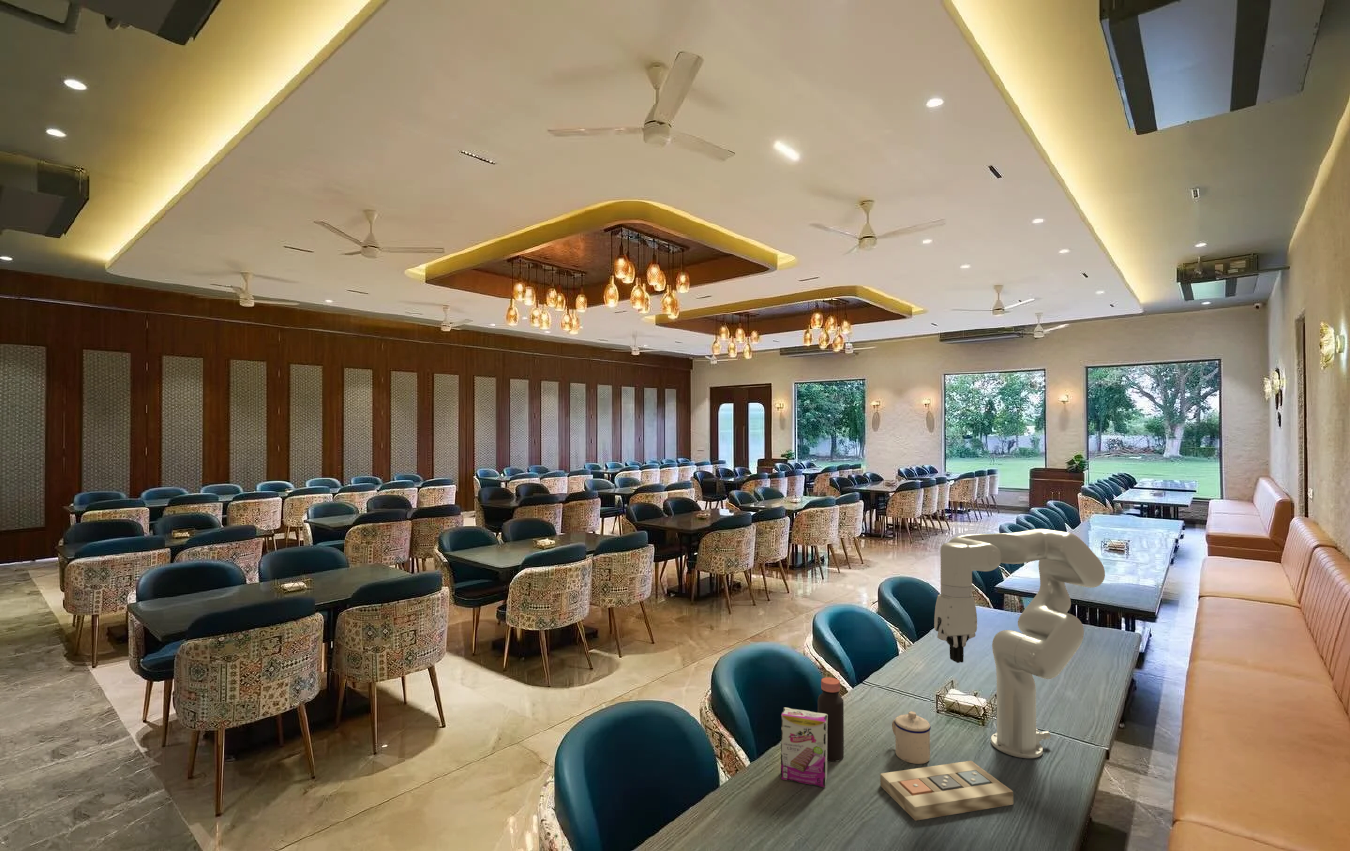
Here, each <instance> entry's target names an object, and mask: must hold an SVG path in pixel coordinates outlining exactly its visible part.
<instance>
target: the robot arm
mask: <svg viewBox="0 0 1350 851" xmlns="http://www.w3.org/2000/svg"><path fill="white" fill-rule="evenodd" d="M939 554H940V556H939V557H940V594H937V597H936V602H935V607H934V608H935V609H934V616H933V617H934V618H933V620H934V622H933V623H934V624H933V626H934V631H936V632H937V639H938V640H940V641H944V642H946V643H947V644H948V645H949V658H950V660H951V661H953V662H955V663H957V664H960V663H964V653H965V652H964V648H965V647H966V645H967V642H968V641H969V640H971V639H973V638H975V637H976V633H977V631H978V630H977V629H978V614H977V608H976V606H977V605H976V602H975V597H974V595H973V591H975V589H976V587H975V585H974V584H973V571H978V572H991V571H994V570H996V569H997V568H998V567H1000V565H1001V564H1008V565H1010V564H1011V565H1016V564H1017V565H1020V564H1025V563H1029V562H1035V561H1038V574H1039V590H1038V591H1037V593H1036V595H1035V596H1034V597H1033V598H1032V600H1031V601H1030V602H1029V604H1028V605H1027V606H1026V607H1025V608H1024V610H1023V611H1022V613H1021V614H1020V615H1019V617H1018V620H1017V627H1018V630H1019V631H1020V632H1019V631H1017V630H1011V629H1004V630H999V631H998V632H997V633H996V634H995V635H994V637H993V639H992V643H991V644H992V645H991V647H992V649H991V650H992V655H993V660H994V665H995V671H996V673H995V674H996V732H995V733H993V734H992V735H991V736H990V743H991V745H992V747H994V748H995V749H997V750H998V751H1000V752H1002V753H1004V754H1005V755H1009V756H1013V757H1016V758H1021V759H1022V758H1023V759H1036V758H1039V757H1041V756H1042V755H1043V753H1044V748H1043V745H1042V744H1040V742H1041V741H1043V740H1050V739H1051V734H1050V732H1049V731H1048V730H1047V731H1040V732H1039V729H1038V728H1037V687H1036V683H1035V678H1034V676H1035V677H1038V678H1040V679H1044V680H1052V679H1055V678H1057V676H1059V675H1060V674H1061V673H1062V671H1063V670H1065V668H1066V666H1067V665H1068V663H1069V662H1070V661H1071V660H1072V658H1073V656H1075V654H1076V652H1078V649H1079V648H1080V647H1081V645H1082V643H1083V639H1084V636H1085V628H1084V624H1083V622H1081V620H1080V619H1079V618H1078V617H1077V616H1075V615H1073V614H1071V613H1068V611H1070V609H1071V605H1072V602H1071V597H1070V595H1069V592H1068V590H1067V587H1066V584H1069V585H1073V586H1074V585H1075V586H1080V587H1083V588H1088V589H1089V588H1092V589H1093V588H1098V587H1099V586H1101V585H1102V584H1103V582H1104V580H1105V577H1106V571H1105V567H1104V564H1103V563H1102V560H1100V558H1099V557H1098V556H1097V555H1096V554H1095V553H1094V551H1093V550H1092V549H1091V548H1090V547H1089V546H1088V545H1087V544H1086V543H1085V541H1083V540H1082V538H1080V537H1078V536H1077V535H1075V534H1073V533H1072V532H1067V531H1062V530H1054V529H1053V530H1052V529H1046V528H1034V529H1027V530H1023V531H1015V532H1003V533H1002V532H1000V533H980V534H979V533H975V534H965V535H959V536H955V537H953V538H951V539H950V540H949V541H948V542H945V543H943V544H941V546H940V552H939ZM1065 583H1066V584H1065Z"/></svg>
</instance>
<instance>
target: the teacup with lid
mask: <svg viewBox="0 0 1350 851" xmlns="http://www.w3.org/2000/svg"><path fill="white" fill-rule="evenodd" d="M891 728H892V732H893V735H894V736H895V738H894V739H895V741H894V742H895V754H896V756H897V758H899V759H900V760H902V761H904V762H906V763H909V764H914V765H923V764H926V763H928V762H929V761H930V757H931V747H930V746H931V741H930V740H931V738H930V737H931V736H930V735H931V734H930V733H931V730H932V729H931V724H930V723H929V721H928V720H927V719H925V717H924V718H923V717H921V716H919V715H917V713H916V711H909V712H908V713H906V714H900V715H898V716H896V717H895V718H894V719H893V720H892V721H891Z"/></svg>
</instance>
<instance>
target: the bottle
mask: <svg viewBox="0 0 1350 851" xmlns="http://www.w3.org/2000/svg"><path fill="white" fill-rule="evenodd" d="M820 680H821V681H820V686H821V687H820V688H821V689H820V690H821V694H819V695H818V698H817V713H824V714H827V715H828V726H827V762H838V761H841V760H843V758H844V756H845V752H844V751H845V743H844V742H845V741H844V739H845V738H844V734H845V733H844V732H845V730H844V729H845V726H844V724H845V722H844V720H845V718H844V714H845V713H844V712H845V711H844V706H845V705H844V699H843V698H842V696H841V695H840V692H841V681H840V680H839V679H838V678H835V677H832V676H831V677H829V676H828V677H827V676H826V677H823V678H821V679H820Z"/></svg>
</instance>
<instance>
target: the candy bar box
mask: <svg viewBox="0 0 1350 851" xmlns="http://www.w3.org/2000/svg"><path fill="white" fill-rule="evenodd" d="M780 716H781V717H780V719H781V720H780V721H781V722H780V723H781V724H780V727H781V729H780V739H781V740H780V779H781V780H782V781H783V780H784V781H789V782H794V783H799V784H805V785H808V786H809V785H810V786H816V787H820V788H826V784H827V779H828V760H827V726H828V715H827V714H824V713H818V711H817V712H816V711H810V710H804V709H797V708H791V707H783V711H782V712H781V715H780Z"/></svg>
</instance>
